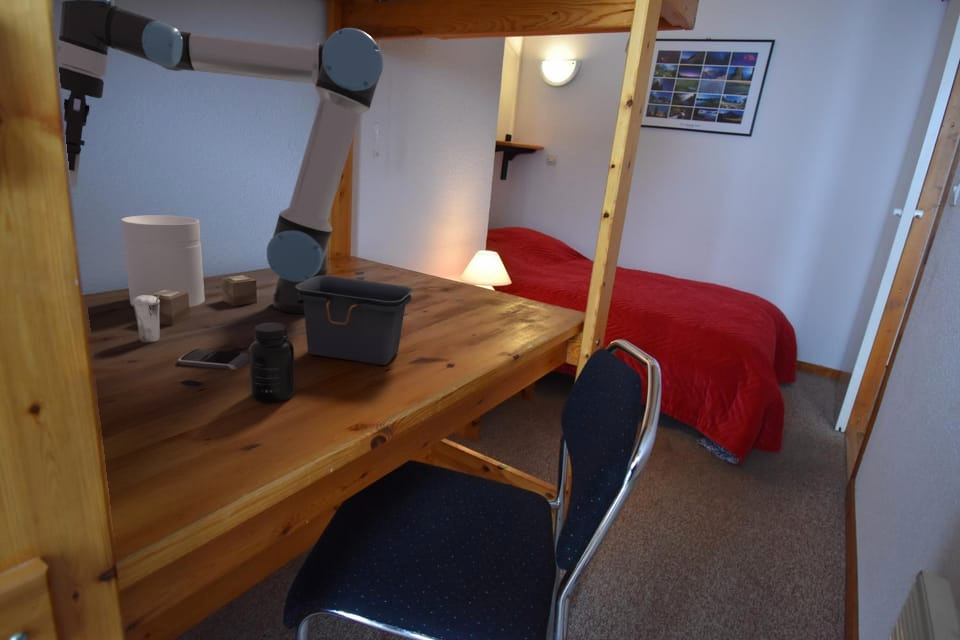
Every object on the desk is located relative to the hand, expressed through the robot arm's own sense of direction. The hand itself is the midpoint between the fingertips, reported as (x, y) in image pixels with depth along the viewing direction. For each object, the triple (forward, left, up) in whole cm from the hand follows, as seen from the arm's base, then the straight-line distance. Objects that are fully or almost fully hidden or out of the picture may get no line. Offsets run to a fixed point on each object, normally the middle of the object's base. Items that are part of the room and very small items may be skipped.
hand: (68, 180), depth 108 cm
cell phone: (-40, 0, -30) cm, 50 cm away
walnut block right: (-12, -30, -29) cm, 43 cm away
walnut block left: (-13, -10, -29) cm, 33 cm away
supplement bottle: (-59, +4, -29) cm, 66 cm away
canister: (0, -19, -29) cm, 35 cm away
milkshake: (-22, 0, -29) cm, 37 cm away
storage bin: (-58, -18, -29) cm, 68 cm away
